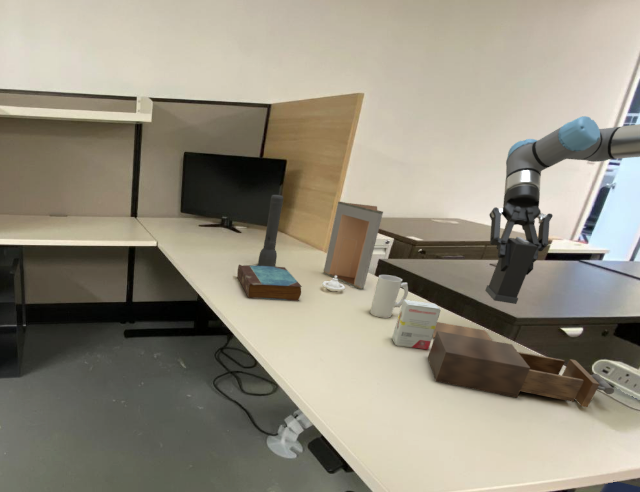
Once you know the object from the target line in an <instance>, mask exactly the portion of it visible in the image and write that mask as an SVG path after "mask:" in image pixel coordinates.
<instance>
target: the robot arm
mask: <svg viewBox="0 0 640 492" xmlns="http://www.w3.org/2000/svg"><path fill="white" fill-rule="evenodd" d="M629 158H640V123H638V124H630V125H622V126H614V127H613V126H612V127H605V128H599V125H598V123H597V122H596V121H595V120H594V119H592V118H591V117H589V116H586V115H584V116H580V117H577V118H575V119H573V120H571V121H569V122H566V123H565V124H563V125H562V126H561V127H558V128H556V129H555V130H553V131H552V132H550V133H548V134H547V135H545V136H543V137H541V138H540V139H534V138H526V139H525V140H518V141H517V142H515V143H514V144H513V145H512V146H511V147H510V148H509V150H508V152H507V158H506V160H505V166H506V169H505V182H504V183H505V184H504V192H503V194H504V195H503V204H502V205H503V206H502V208H498V207H495V206H494V207H493V209H492V210H491V211H490V213H489V214H488V216H489V218H490V221H491V223H490V236H489V244H490V245H491V246H494V245H495V246H496V247H495V248H496V250H497V258H498V259H499V258H502V260H501V271H505V270H506V269H507V268H508V267H509V260H510V246H511V244H510V243H507V241H508V239H509V238H510V236H511V234H512V231H513V229H514V226H521V229H522V230H523V232H524V235H525V240H527V241H529V242H531V243H532V244H534V245H536V246H538V247H537V249H536V252H535V254H534V257H533V259H532V262H531V264H530V267H529V269H528V271H527V274H526V276H528V275H529V274H531V272H533V270H534V263H535V262H536V261H537V260H538V258H539V252H542V251H544V250H545V249H546V248H547V246H548V245H549V235H550V222H551V220H552V218H553V216H554V215H553V214H552V213H547V214H545V213H543V212H542V211H541V209H540V196H541V176H542V171H544V170H545V169H548V168H551V167H552V166H554V165H556V164H558V163H560V162H562V161H564V160H574V161H588V162H591V163H594V162H595V163H597V162H605V161H609V160H618V159H629ZM502 216H503V218H505V220H506V223H505V225H504V229H503V232H502V234H501V221H502V220H501V219H502ZM536 219H538V224H539V225H538V234H537V230H536V226H535V224H536ZM506 243H507V244H506Z"/></svg>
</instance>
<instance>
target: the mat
mask: <svg viewBox="0 0 640 492" xmlns="http://www.w3.org/2000/svg"><path fill="white" fill-rule="evenodd" d="M437 331H440V332H446V333H452V334H457V335H463V336H468V337H474V338H480V339H485V340H491V341H493V340H492V338H491V337H490V335H489V334H488V332H487V331H486V330H484V329H480V328H474V327H469V326H462V325H456V324H450V323H445V322H440V321H437V324H436V327H435V330H434V333H433V336H432V340H434V338H435V335H436V332H437Z"/></svg>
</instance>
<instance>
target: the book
mask: <svg viewBox="0 0 640 492" xmlns="http://www.w3.org/2000/svg"><path fill="white" fill-rule="evenodd" d="M236 277H237V279H238V281H239V282H240V285H241V286H242V288H243V290H244V292H245V294H246V296H247V297H248V299H257V300H258V299H260V300H273V301H274V300H275V301H292V302H293V301H295V302H300V300H299V299H300V297H301V294H302V287H303V285H301V284H300V282H299V281H298V280H297V279H296V278H295V277H294V276H293V275H292V274H291V272H290V271H288V269H287V268H286V267H285V266H275V267H272V266H258V265H251V264H249V265H247V264H246V265H245V264H244V265H241V264H238V266H237V275H236Z"/></svg>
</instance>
